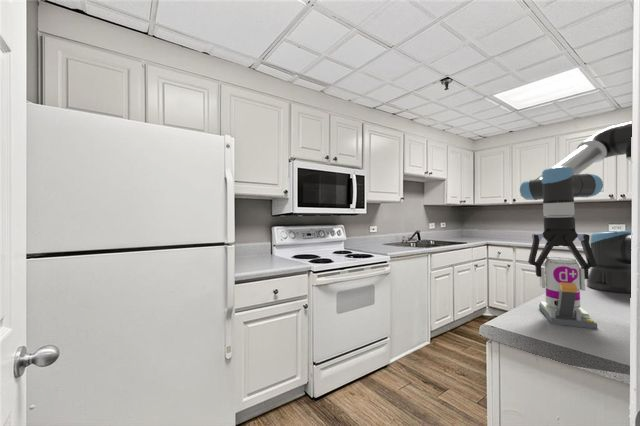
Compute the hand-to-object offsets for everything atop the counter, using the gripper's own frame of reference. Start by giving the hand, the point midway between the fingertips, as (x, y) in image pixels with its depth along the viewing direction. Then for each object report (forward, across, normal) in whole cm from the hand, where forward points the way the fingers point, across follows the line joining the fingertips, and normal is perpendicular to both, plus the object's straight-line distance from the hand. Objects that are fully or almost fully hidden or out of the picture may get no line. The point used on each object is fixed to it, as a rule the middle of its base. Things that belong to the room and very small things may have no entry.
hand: (561, 288), depth 88 cm
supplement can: (+6, 0, 0) cm, 6 cm away
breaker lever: (+6, +2, +8) cm, 10 cm away
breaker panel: (+8, 0, +2) cm, 9 cm away
